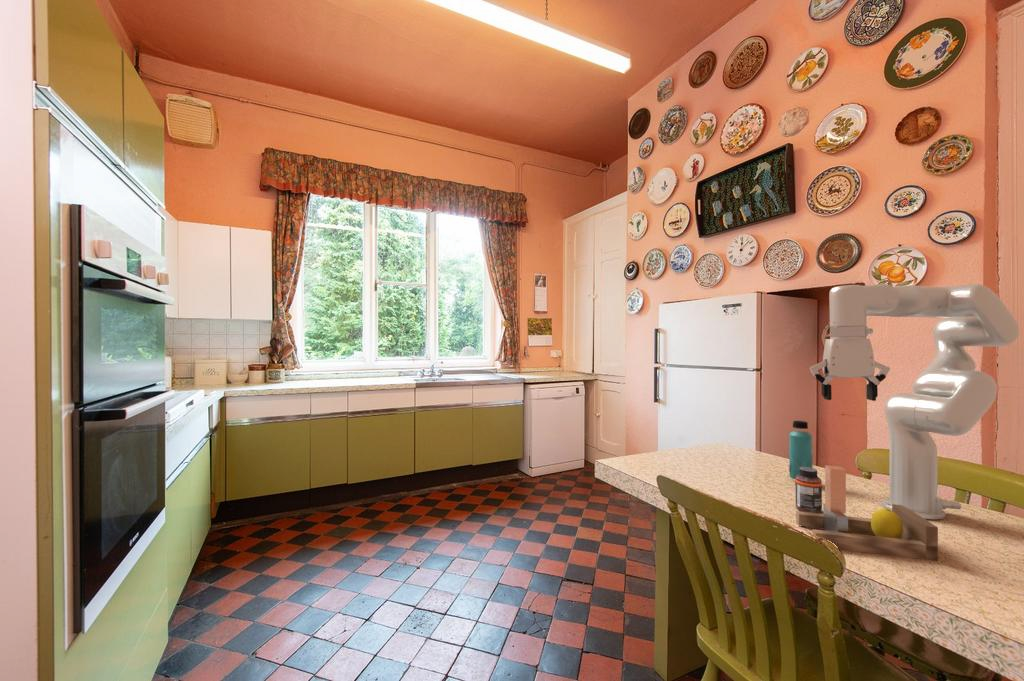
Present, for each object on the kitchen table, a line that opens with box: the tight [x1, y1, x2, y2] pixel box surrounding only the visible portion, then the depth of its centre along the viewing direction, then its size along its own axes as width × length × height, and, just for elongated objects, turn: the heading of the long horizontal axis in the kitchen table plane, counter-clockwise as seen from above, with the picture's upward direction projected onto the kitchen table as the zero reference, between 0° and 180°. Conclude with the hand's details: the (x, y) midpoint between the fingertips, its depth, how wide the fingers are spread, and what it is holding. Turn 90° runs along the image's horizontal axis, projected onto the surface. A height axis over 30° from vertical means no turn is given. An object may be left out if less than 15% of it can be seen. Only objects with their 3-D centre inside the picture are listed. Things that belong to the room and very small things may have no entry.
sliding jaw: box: [822, 464, 849, 533], centre depth 102 cm, size 3×8×16 cm, turn 163°
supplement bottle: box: [794, 467, 823, 514], centre depth 118 cm, size 6×6×11 cm
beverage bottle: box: [788, 420, 814, 480], centre depth 141 cm, size 6×7×20 cm
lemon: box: [870, 507, 903, 539], centre depth 99 cm, size 6×6×8 cm
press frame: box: [795, 504, 939, 562], centre depth 100 cm, size 22×13×7 cm, turn 73°
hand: (849, 399), depth 113 cm, fingers open, 9 cm apart
